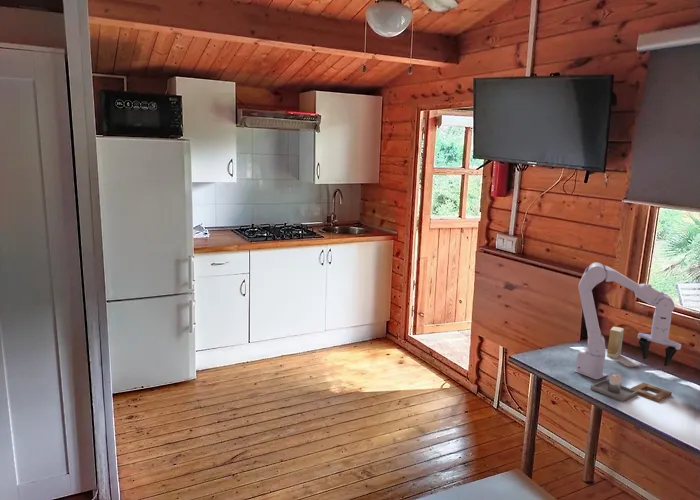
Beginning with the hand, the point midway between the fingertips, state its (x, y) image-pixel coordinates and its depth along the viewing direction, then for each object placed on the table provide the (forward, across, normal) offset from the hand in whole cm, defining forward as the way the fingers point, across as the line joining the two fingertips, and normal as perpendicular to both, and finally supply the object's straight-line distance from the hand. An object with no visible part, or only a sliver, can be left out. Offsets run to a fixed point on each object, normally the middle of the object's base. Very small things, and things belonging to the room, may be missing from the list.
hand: (655, 361), depth 197 cm
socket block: (+9, -3, +8) cm, 13 cm away
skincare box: (+10, +24, -18) cm, 31 cm away
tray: (+9, +5, +19) cm, 22 cm away
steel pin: (+9, +5, +19) cm, 21 cm away
